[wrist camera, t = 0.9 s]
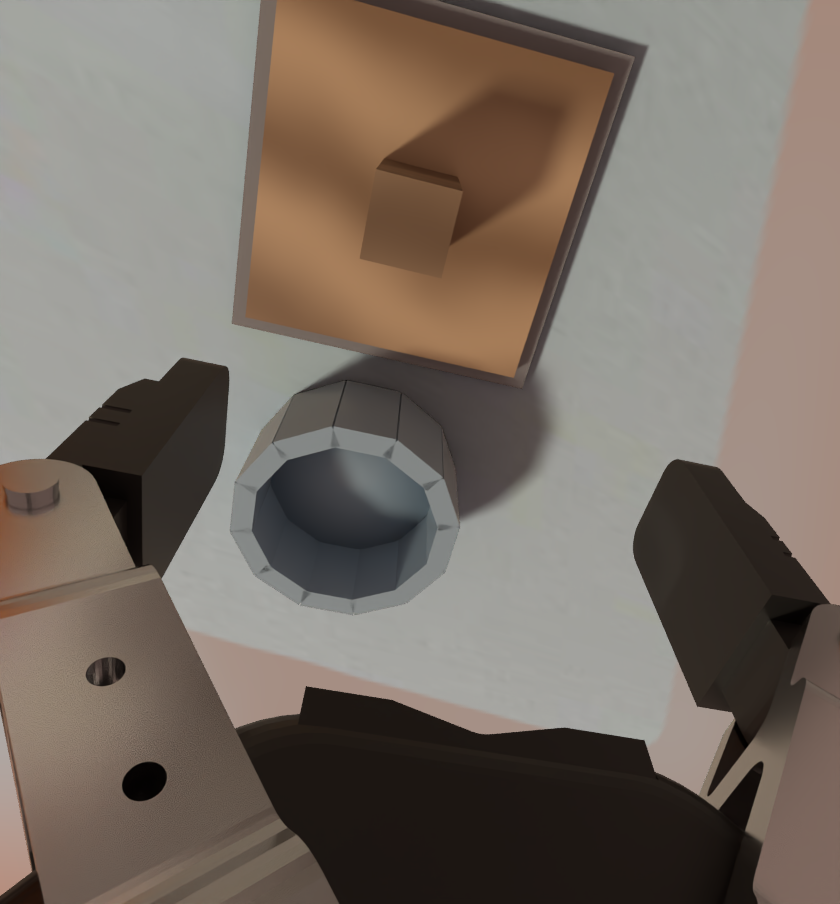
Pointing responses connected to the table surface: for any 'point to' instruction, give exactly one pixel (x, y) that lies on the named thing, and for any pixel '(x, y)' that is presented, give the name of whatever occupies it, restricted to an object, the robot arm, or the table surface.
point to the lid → (414, 181)
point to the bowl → (348, 500)
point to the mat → (425, 6)
